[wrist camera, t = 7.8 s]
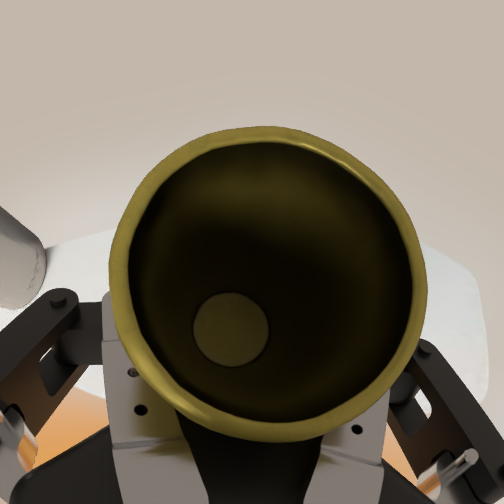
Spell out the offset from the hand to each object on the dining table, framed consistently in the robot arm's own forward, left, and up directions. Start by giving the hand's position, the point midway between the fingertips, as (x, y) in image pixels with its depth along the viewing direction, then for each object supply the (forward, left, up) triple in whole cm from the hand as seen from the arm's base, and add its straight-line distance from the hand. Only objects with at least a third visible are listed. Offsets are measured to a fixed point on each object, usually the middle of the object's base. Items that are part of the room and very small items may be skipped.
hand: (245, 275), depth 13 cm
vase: (0, -2, -6) cm, 7 cm away
